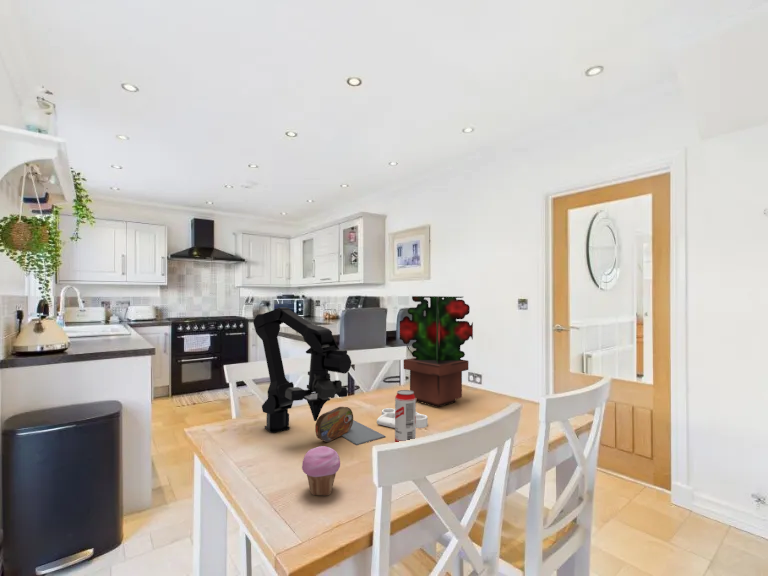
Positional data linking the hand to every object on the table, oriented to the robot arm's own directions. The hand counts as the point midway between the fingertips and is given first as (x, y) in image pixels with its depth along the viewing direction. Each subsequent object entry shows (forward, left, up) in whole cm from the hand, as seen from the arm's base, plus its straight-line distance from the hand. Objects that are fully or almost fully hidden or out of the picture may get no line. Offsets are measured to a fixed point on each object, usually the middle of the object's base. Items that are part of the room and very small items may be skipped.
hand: (315, 420), depth 115 cm
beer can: (+21, -18, -7) cm, 28 cm away
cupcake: (-12, -27, -7) cm, 30 cm away
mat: (+14, 0, -7) cm, 16 cm away
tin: (+7, 0, -6) cm, 9 cm away
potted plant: (+62, +10, -7) cm, 63 cm away
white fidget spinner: (+33, -2, -7) cm, 34 cm away
